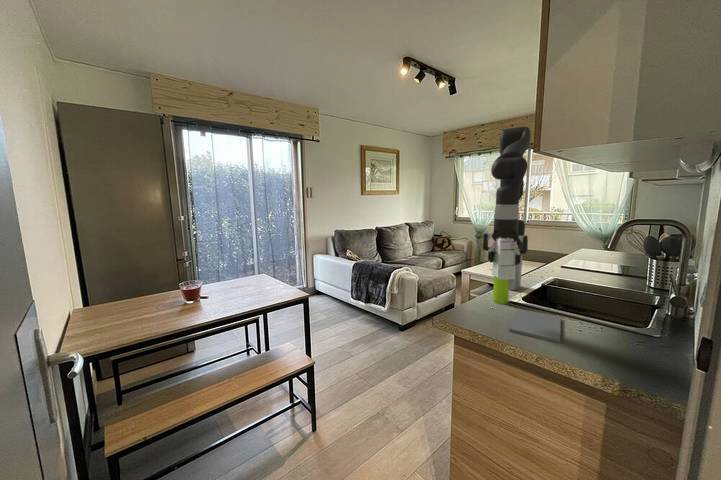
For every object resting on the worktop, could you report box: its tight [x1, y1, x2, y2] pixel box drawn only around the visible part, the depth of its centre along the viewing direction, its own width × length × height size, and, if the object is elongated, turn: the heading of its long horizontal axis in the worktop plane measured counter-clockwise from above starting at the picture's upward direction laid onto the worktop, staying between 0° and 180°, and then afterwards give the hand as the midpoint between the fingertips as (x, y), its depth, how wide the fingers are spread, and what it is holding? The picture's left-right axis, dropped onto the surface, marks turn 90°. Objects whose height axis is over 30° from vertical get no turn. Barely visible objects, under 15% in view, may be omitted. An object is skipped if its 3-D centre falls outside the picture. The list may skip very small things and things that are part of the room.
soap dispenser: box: [492, 276, 510, 305], centre depth 121 cm, size 6×7×20 cm
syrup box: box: [491, 238, 517, 280], centre depth 101 cm, size 6×6×14 cm
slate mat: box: [509, 308, 562, 344], centre depth 100 cm, size 20×14×1 cm
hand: (503, 263), depth 101 cm, fingers closed on syrup box, 7 cm apart
